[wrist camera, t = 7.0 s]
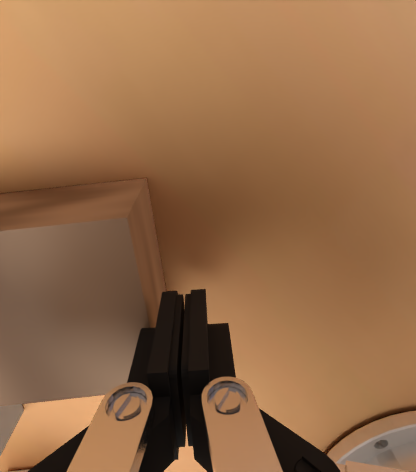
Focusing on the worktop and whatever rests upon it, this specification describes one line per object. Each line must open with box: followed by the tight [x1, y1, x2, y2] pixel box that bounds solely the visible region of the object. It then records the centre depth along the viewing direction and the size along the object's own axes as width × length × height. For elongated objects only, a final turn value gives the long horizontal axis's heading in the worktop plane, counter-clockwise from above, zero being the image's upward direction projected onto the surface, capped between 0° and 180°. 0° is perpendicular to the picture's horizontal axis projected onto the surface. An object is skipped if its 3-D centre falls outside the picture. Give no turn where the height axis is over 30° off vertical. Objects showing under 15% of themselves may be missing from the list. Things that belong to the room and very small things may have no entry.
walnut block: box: [0, 178, 166, 406], centre depth 13 cm, size 9×7×5 cm
